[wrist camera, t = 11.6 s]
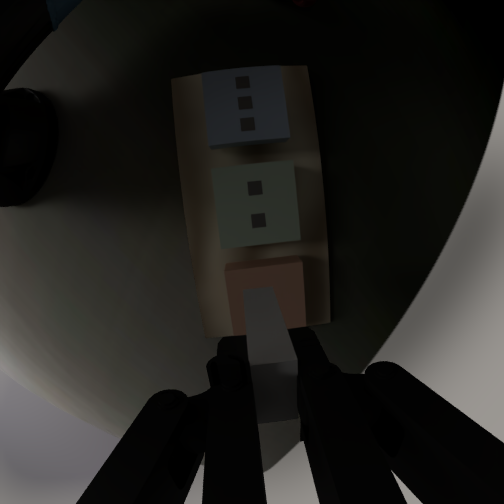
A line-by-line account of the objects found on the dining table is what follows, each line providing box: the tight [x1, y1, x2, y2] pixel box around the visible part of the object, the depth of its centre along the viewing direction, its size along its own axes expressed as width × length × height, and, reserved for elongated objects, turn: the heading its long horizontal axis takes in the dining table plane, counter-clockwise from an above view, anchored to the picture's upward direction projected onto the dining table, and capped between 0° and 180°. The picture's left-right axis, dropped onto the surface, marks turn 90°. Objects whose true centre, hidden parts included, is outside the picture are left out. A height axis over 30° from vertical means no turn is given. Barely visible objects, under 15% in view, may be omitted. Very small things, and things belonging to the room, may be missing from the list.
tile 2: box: [211, 160, 301, 249], centre depth 27 cm, size 7×7×3 cm
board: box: [171, 66, 330, 338], centre depth 28 cm, size 14×28×3 cm, turn 6°
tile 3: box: [201, 65, 290, 150], centre depth 25 cm, size 7×7×3 cm
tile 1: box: [224, 255, 306, 336], centre depth 29 cm, size 7×7×3 cm
